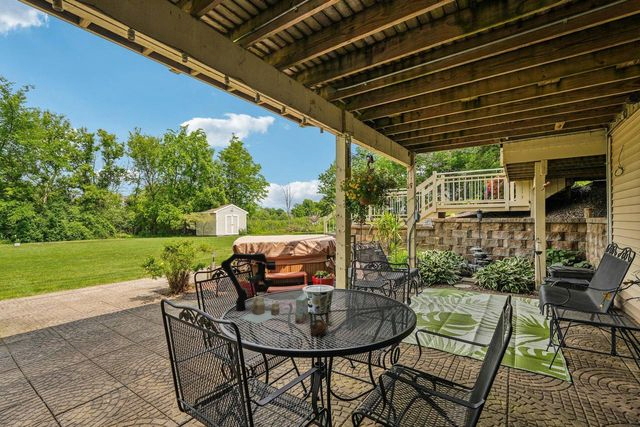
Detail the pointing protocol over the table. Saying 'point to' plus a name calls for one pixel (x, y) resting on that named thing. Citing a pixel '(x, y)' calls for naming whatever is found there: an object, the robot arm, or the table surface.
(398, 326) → the table surface
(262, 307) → the walnut block
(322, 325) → the decorative turtle
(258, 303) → the maple block
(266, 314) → the board
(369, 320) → the table surface
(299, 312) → the snack box
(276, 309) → the tower
